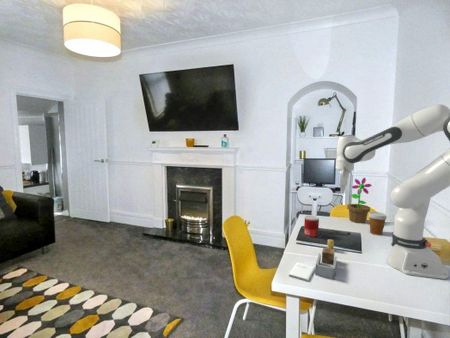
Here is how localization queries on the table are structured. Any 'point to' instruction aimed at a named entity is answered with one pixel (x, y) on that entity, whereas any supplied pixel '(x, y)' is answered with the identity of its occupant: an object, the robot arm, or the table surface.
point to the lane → (325, 269)
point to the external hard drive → (302, 271)
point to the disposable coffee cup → (377, 222)
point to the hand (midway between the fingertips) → (343, 191)
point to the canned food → (311, 226)
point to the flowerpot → (358, 210)
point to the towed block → (328, 252)
